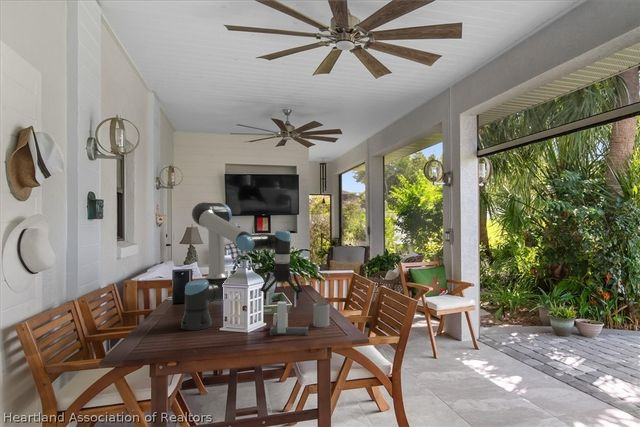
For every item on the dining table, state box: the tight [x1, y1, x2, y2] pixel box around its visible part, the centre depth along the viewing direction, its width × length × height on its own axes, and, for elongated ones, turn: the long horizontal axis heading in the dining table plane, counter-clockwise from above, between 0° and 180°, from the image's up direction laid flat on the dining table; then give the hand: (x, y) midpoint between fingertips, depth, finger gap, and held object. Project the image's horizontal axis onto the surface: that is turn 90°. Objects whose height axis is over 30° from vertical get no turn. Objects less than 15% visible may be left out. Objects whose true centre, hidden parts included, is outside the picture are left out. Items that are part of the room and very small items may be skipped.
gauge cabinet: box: [272, 312, 289, 327], centre depth 195 cm, size 7×6×7 cm
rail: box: [269, 325, 309, 336], centre depth 186 cm, size 18×4×3 cm, turn 92°
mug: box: [312, 302, 330, 328], centre depth 204 cm, size 12×8×11 cm
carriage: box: [276, 301, 287, 333], centre depth 186 cm, size 4×4×14 cm
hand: (281, 306), depth 186 cm, fingers open, 13 cm apart
